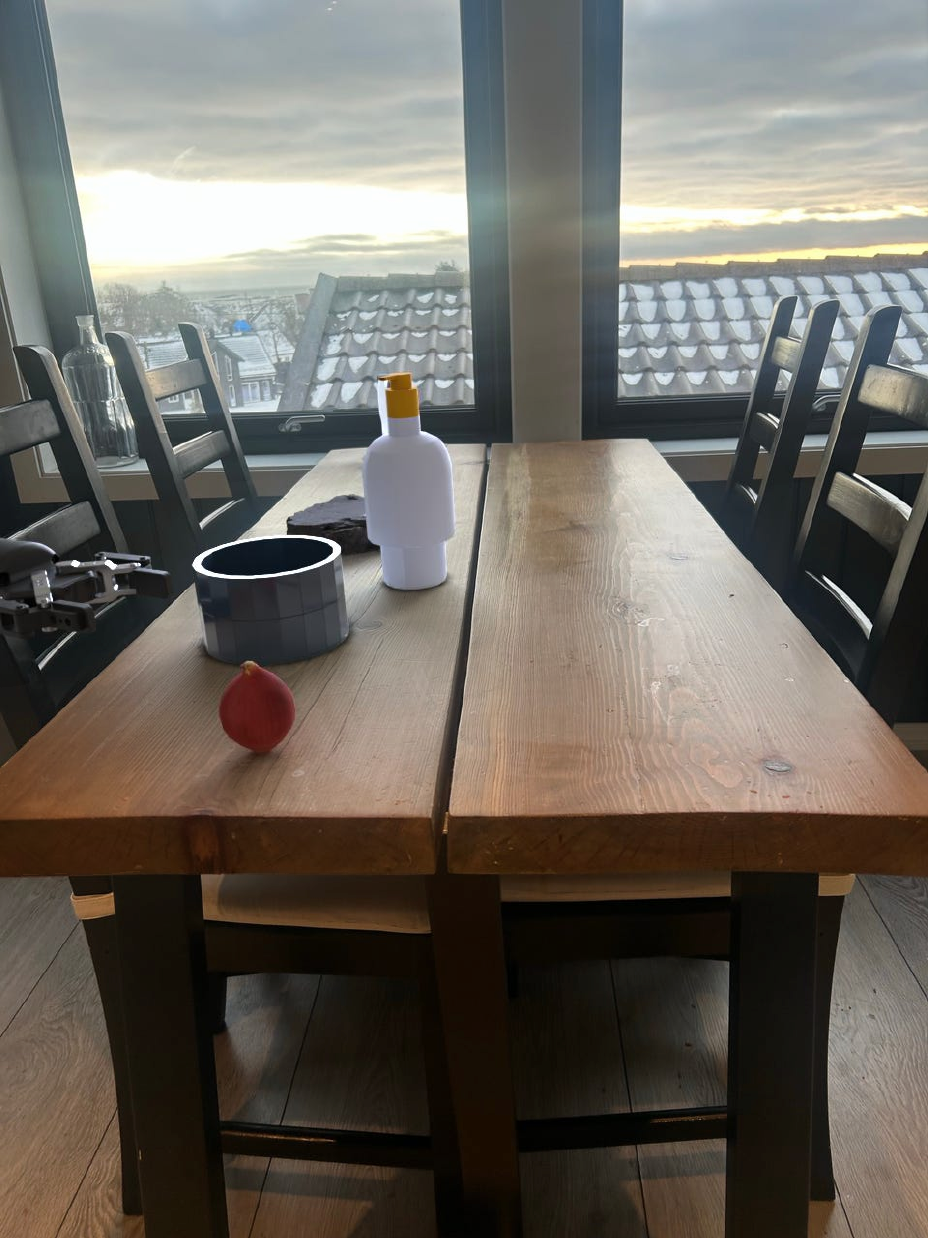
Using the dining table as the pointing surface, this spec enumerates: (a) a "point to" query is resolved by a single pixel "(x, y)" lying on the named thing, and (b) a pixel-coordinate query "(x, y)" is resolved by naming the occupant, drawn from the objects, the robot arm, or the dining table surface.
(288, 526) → the rock sample
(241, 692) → the onion
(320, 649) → the pot
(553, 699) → the dining table surface
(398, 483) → the soap bottle
